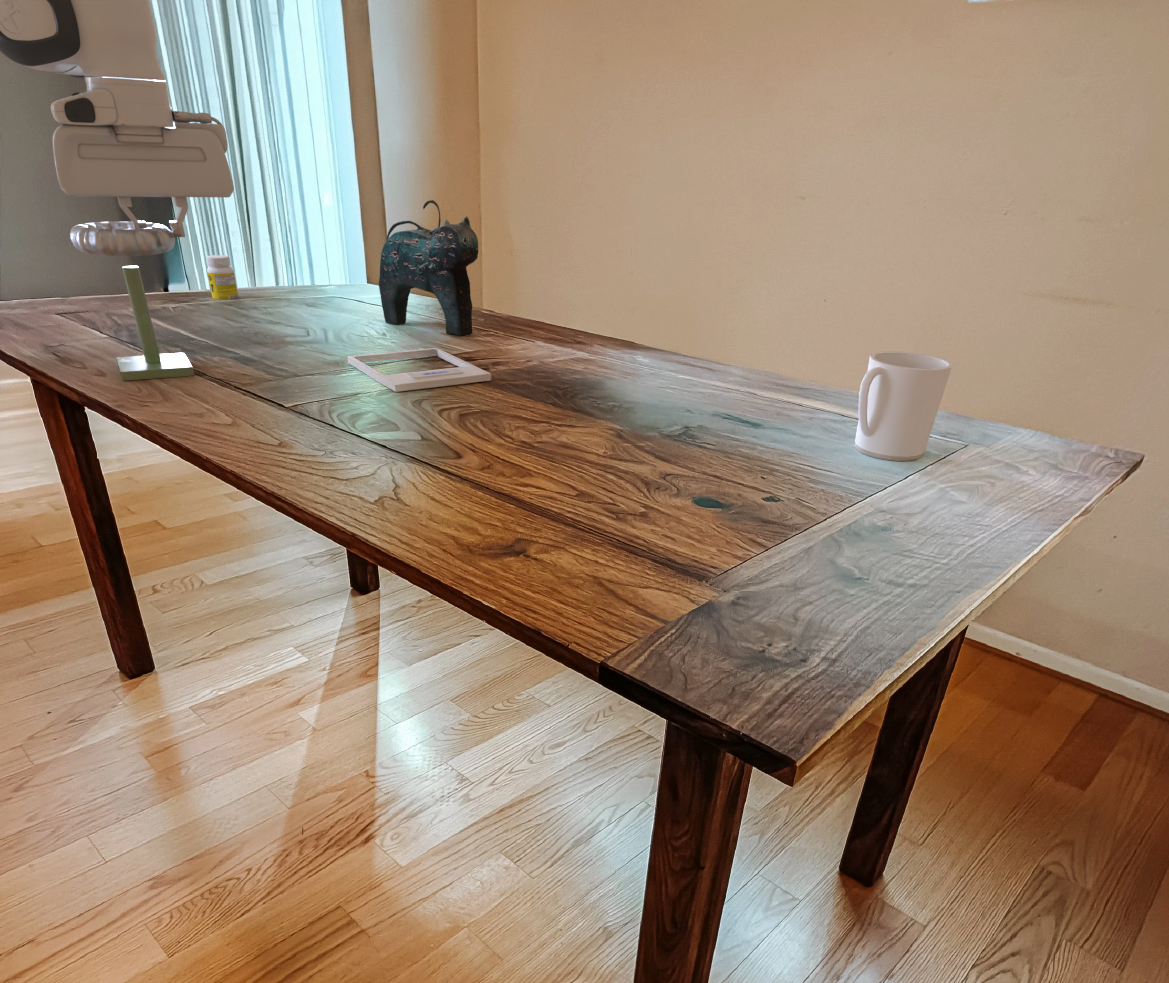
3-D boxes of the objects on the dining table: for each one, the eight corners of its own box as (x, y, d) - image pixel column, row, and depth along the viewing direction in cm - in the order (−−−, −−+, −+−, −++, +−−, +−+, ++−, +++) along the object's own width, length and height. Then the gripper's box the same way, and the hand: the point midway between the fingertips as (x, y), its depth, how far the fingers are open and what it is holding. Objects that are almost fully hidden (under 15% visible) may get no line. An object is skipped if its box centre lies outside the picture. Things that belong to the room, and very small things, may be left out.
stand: (122, 381, 110) (93, 272, 102) (117, 366, 116) (90, 263, 109) (194, 375, 113) (171, 270, 106) (186, 361, 120) (163, 261, 113)
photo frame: (394, 383, 109) (346, 355, 122) (395, 391, 110) (347, 362, 122) (490, 372, 116) (436, 346, 129) (491, 380, 117) (437, 353, 129)
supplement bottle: (214, 303, 158) (204, 254, 153) (240, 303, 159) (231, 254, 154) (213, 307, 154) (203, 258, 149) (239, 307, 155) (230, 258, 150)
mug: (888, 435, 103) (910, 349, 97) (943, 457, 96) (970, 366, 91) (821, 445, 98) (839, 355, 93) (874, 468, 92) (897, 374, 86)
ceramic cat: (484, 334, 144) (480, 203, 133) (461, 339, 139) (455, 204, 128) (398, 318, 152) (387, 194, 141) (374, 324, 147) (361, 195, 136)
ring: (75, 258, 100) (68, 230, 98) (73, 246, 108) (65, 220, 107) (181, 256, 105) (176, 229, 103) (171, 244, 113) (165, 220, 112)
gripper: (218, 113, 106) (239, 233, 114) (37, 104, 98) (73, 235, 105) (226, 113, 102) (247, 238, 110) (37, 104, 93) (74, 240, 101)
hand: (160, 237), depth 107 cm, fingers closed on ring, 3 cm apart
